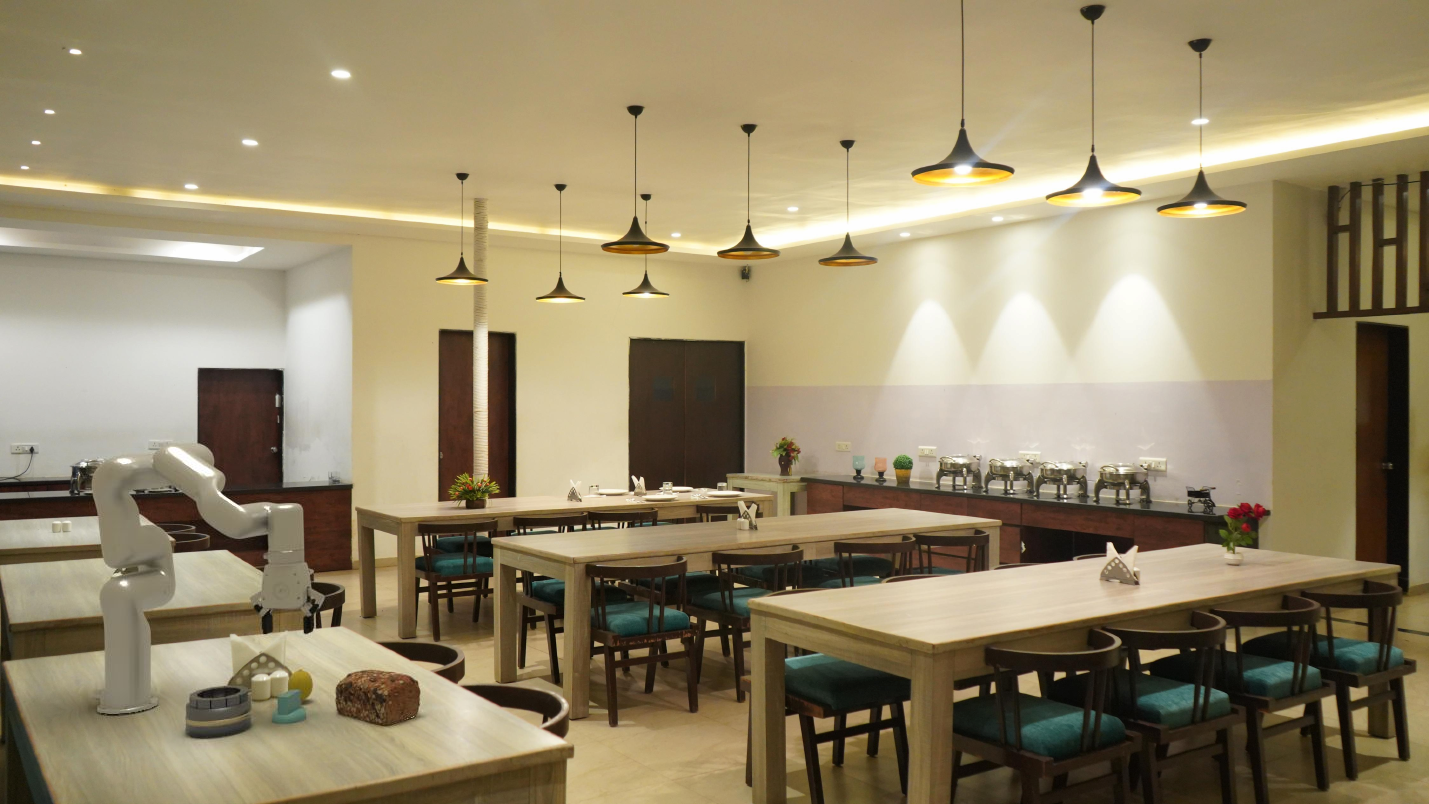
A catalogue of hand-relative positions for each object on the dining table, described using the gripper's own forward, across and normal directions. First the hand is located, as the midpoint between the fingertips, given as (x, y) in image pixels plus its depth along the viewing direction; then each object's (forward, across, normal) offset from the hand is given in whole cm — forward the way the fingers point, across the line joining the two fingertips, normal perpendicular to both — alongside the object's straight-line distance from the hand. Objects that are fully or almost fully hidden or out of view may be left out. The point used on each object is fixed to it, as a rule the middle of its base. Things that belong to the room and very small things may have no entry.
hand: (288, 632), depth 234 cm
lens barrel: (+19, -12, -8) cm, 24 cm away
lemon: (+20, -4, +13) cm, 24 cm away
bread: (+20, +18, +5) cm, 28 cm away
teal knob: (+20, 0, 0) cm, 20 cm away
